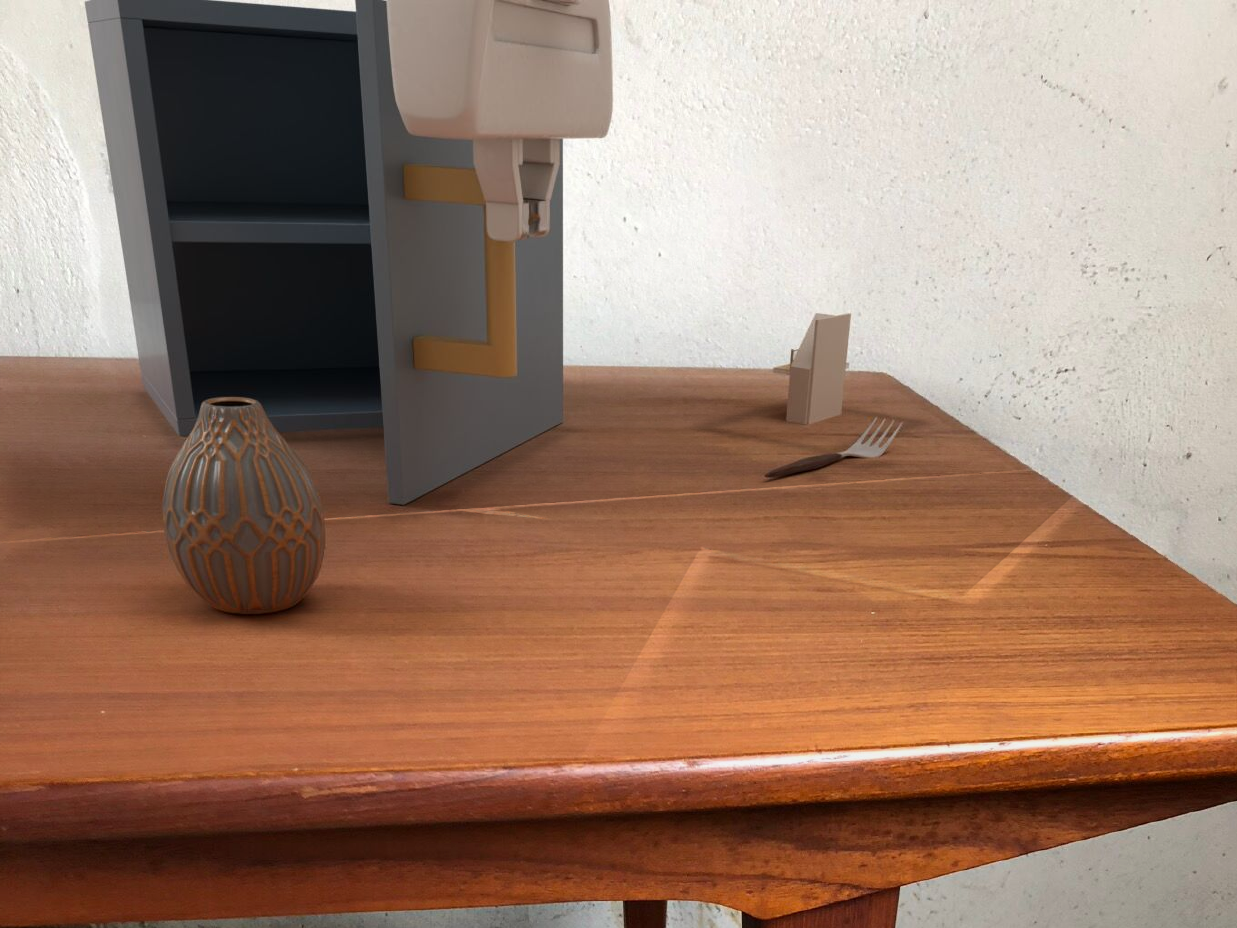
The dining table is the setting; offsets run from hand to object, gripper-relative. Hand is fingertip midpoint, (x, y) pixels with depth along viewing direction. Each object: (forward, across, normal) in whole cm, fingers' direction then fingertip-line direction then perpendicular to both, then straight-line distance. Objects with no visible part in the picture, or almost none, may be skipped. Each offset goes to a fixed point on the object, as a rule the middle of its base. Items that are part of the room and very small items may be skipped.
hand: (518, 238), depth 72 cm
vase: (+14, +21, -5) cm, 26 cm away
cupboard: (+14, -22, -23) cm, 35 cm away
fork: (+14, -20, +14) cm, 28 cm away
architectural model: (+14, -35, +10) cm, 39 cm away
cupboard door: (+14, -10, -4) cm, 18 cm away
